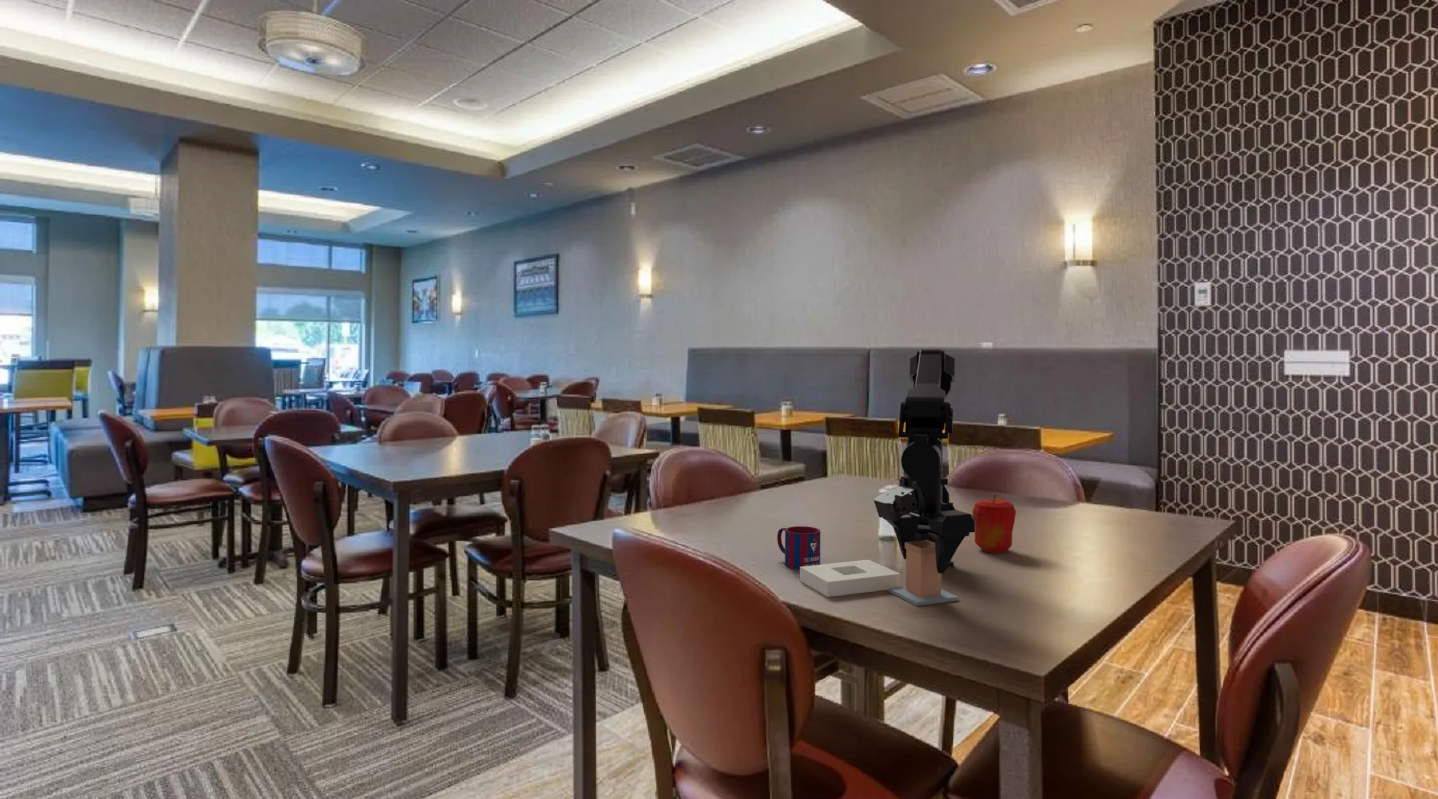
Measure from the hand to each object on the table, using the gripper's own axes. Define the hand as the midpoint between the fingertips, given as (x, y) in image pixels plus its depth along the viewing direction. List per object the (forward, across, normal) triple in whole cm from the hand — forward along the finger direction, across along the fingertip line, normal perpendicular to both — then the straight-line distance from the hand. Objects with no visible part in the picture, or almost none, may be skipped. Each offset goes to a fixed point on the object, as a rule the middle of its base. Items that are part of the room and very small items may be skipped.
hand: (923, 565), depth 122 cm
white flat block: (+5, -10, -8) cm, 14 cm away
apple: (+5, -20, +32) cm, 39 cm away
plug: (+4, 0, 0) cm, 4 cm away
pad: (+5, 0, 0) cm, 5 cm away
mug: (+5, -26, -10) cm, 28 cm away
